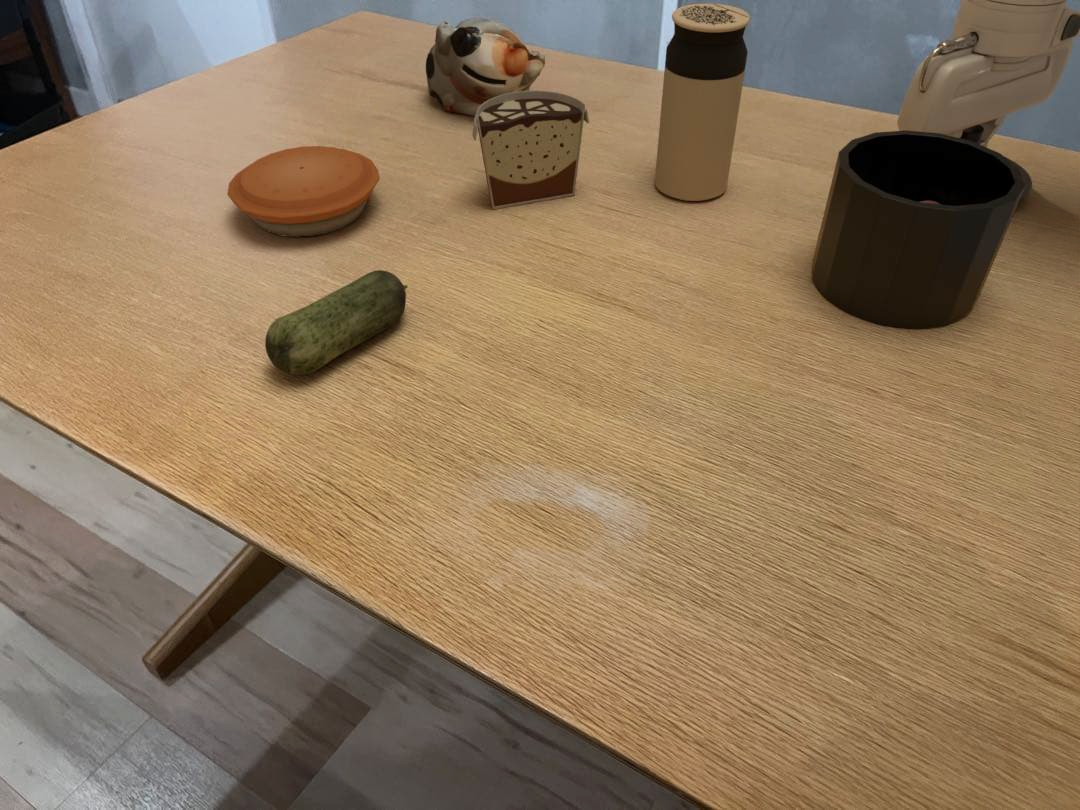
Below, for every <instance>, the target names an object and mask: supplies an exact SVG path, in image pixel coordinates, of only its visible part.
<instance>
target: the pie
mask: <svg viewBox="0 0 1080 810" xmlns="http://www.w3.org/2000/svg"><path fill="white" fill-rule="evenodd" d="M379 181H380V173H379V169H378V168H377V166H376V165H375V163H374V161H373V160H372V159H370V158H369V157H367V156H365V155H363V154H361V153H359V152H355V151H351V150H349V149H345V148H340V147H334V146H323V145H311V146H310V145H309V146H308V145H306V146H297V147H292V148H291V147H290V148H286V149H283V150H282V149H281V150H278V151H275V152H272V153H270V154H269V153H268V154H267V155H264V156H262V157H260V158H258V159H256V160H255V161H253V162H252V163H250V164H249V165H247V166H245V167H244V168H243V169H241V170H240V171H239V172H237V173H236V174H235V175H234V177H232V179H231V180H230V181H229V183H228V187H227V196H228V197H229V199H230V200H231V202H232V203H233V204H234V205H235V207H237V208H238V209H239V210H240V211H242V212H243V213H245V214H246V215H247V216H248V217H249V218H250V219H251V220H252V221H254V222H255V223H256V224H257V225H258V226H259V225H260V226H259V227H261V228H262V227H263V228H262V229H263V230H265V229H266V230H265V231H267V232H268V231H270V232H269V233H271V232H273V233H272V234H274V233H276V234H275V235H277V234H279V235H278V236H280V235H285V236H284V237H288V236H293V237H292V238H300V237H299V236H311V237H314V236H313V235H317V236H320V235H319V234H322V235H326V234H325V233H327V234H329V232H330V233H333V232H336V231H338V230H341V229H343V228H344V226H345V227H346V226H348V225H350V224H352V223H354V221H355V220H356V219H357V218H359V216H360V215H361V214H362V212H363V209H364V207H365V205H366V203H367V201H368V199H369V197H370V196H371V194H372V193H373V191H374V189H375V187H376V186H377V184H378V183H379ZM351 222H352V223H351ZM342 227H343V228H342ZM340 228H341V229H340ZM337 229H338V230H337ZM332 231H333V232H332ZM295 236H296V237H295Z"/></svg>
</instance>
